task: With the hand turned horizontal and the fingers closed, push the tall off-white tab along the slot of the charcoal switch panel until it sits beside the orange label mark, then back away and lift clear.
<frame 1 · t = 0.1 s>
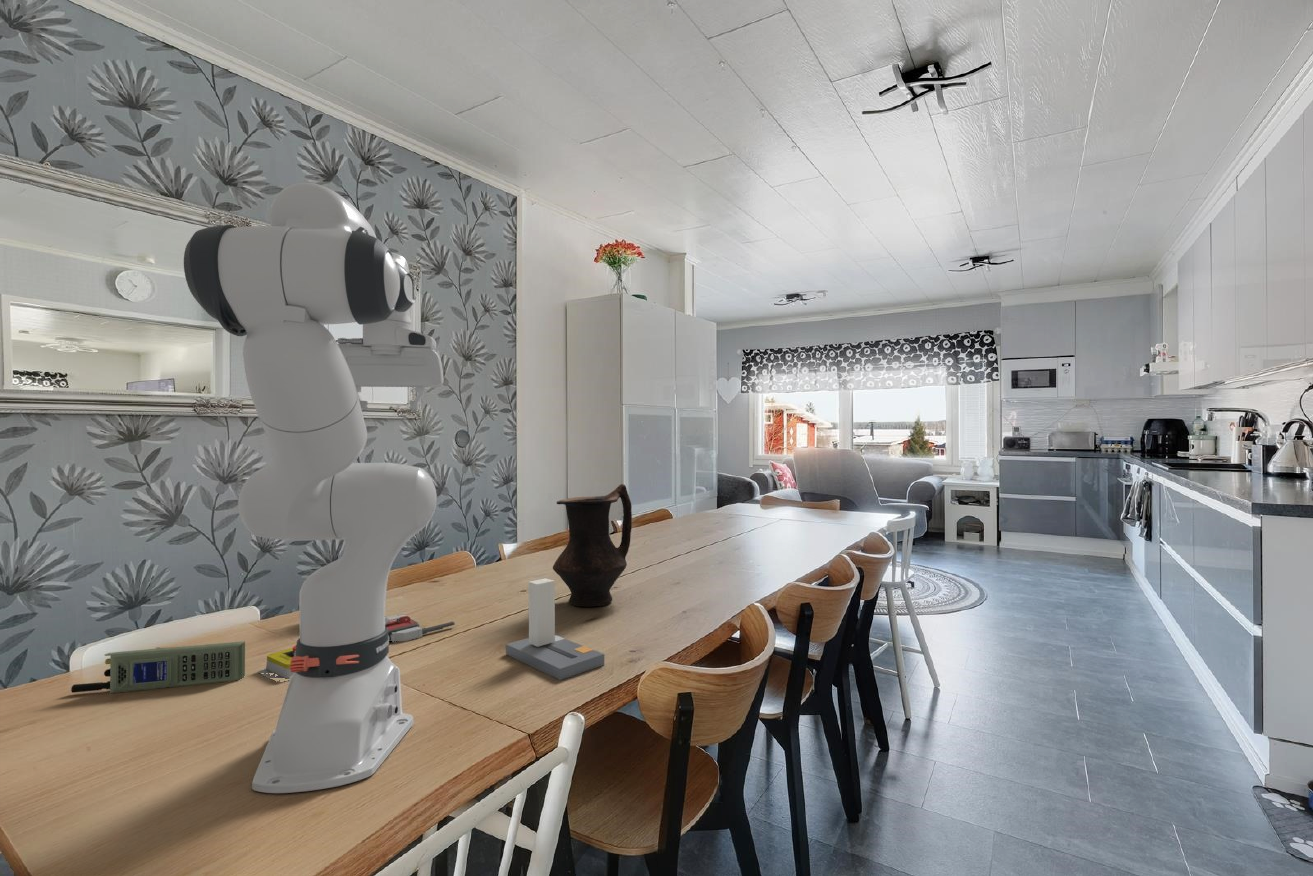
hand: (388, 410, 118), 48 cm above the table, tool pointing down, fingers open, 8 cm apart
emergency button: (310, 668, 115), on the table
switch panel: (554, 659, 116), on the table
jug: (594, 603, 156), on the table
walkie-talkie: (403, 638, 131), on the table
switch tab: (541, 611, 119), point 8 cm above the table, slide at 0.0 cm
handheld radio: (160, 688, 105), on the table
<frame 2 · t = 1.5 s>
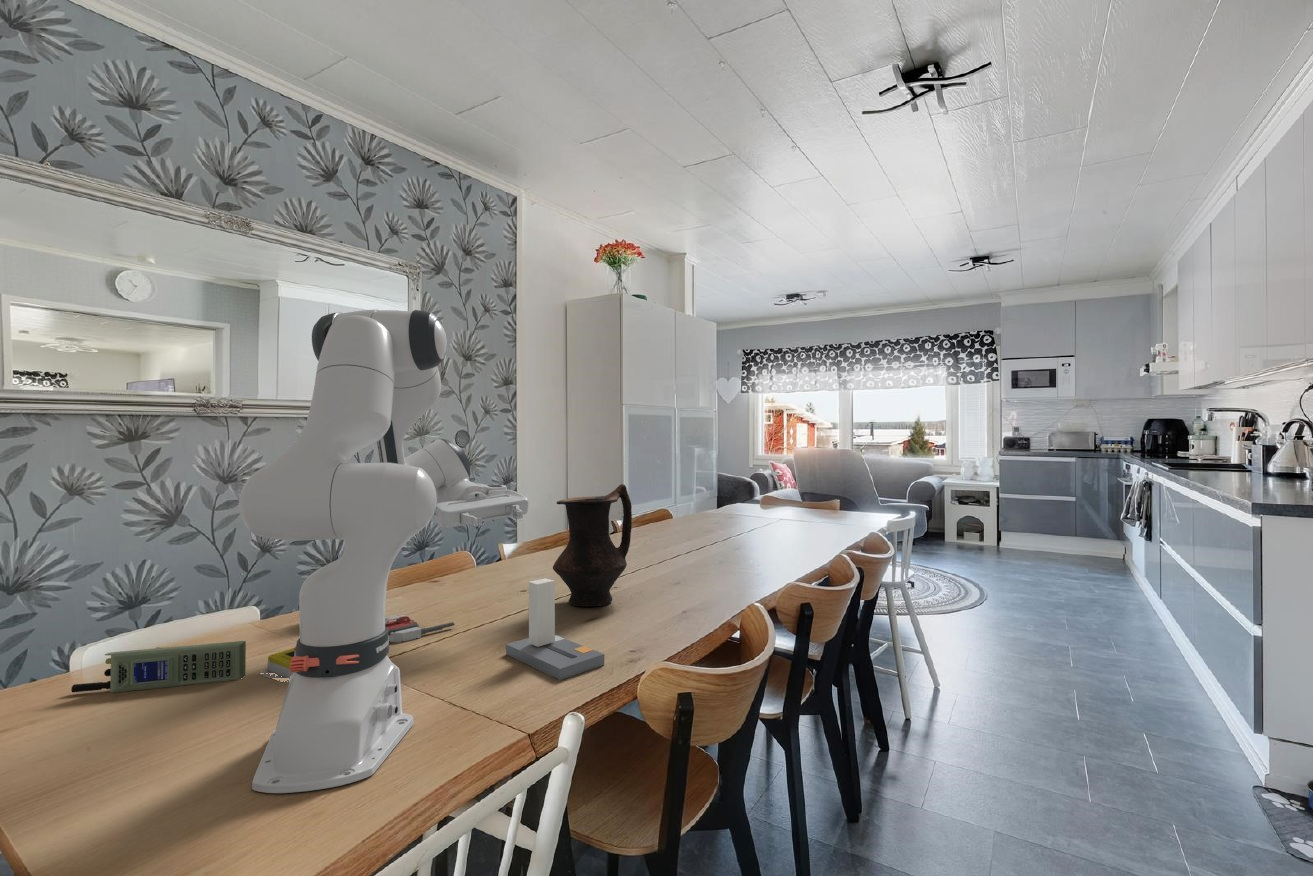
hand: (500, 518, 128), 25 cm above the table, tool horizontal, fingers open, 8 cm apart
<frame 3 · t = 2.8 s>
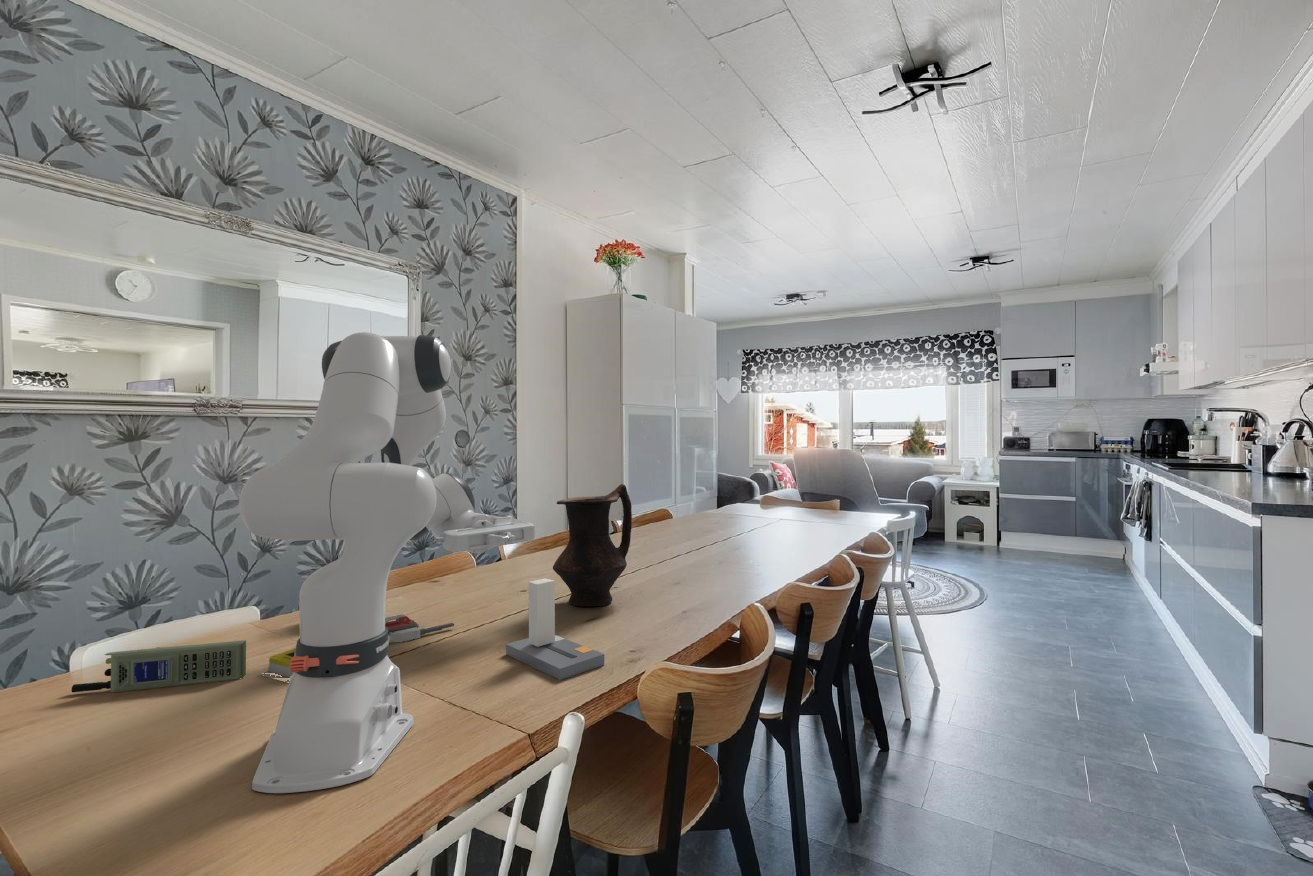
hand: (508, 540, 128), 21 cm above the table, tool horizontal, fingers closed
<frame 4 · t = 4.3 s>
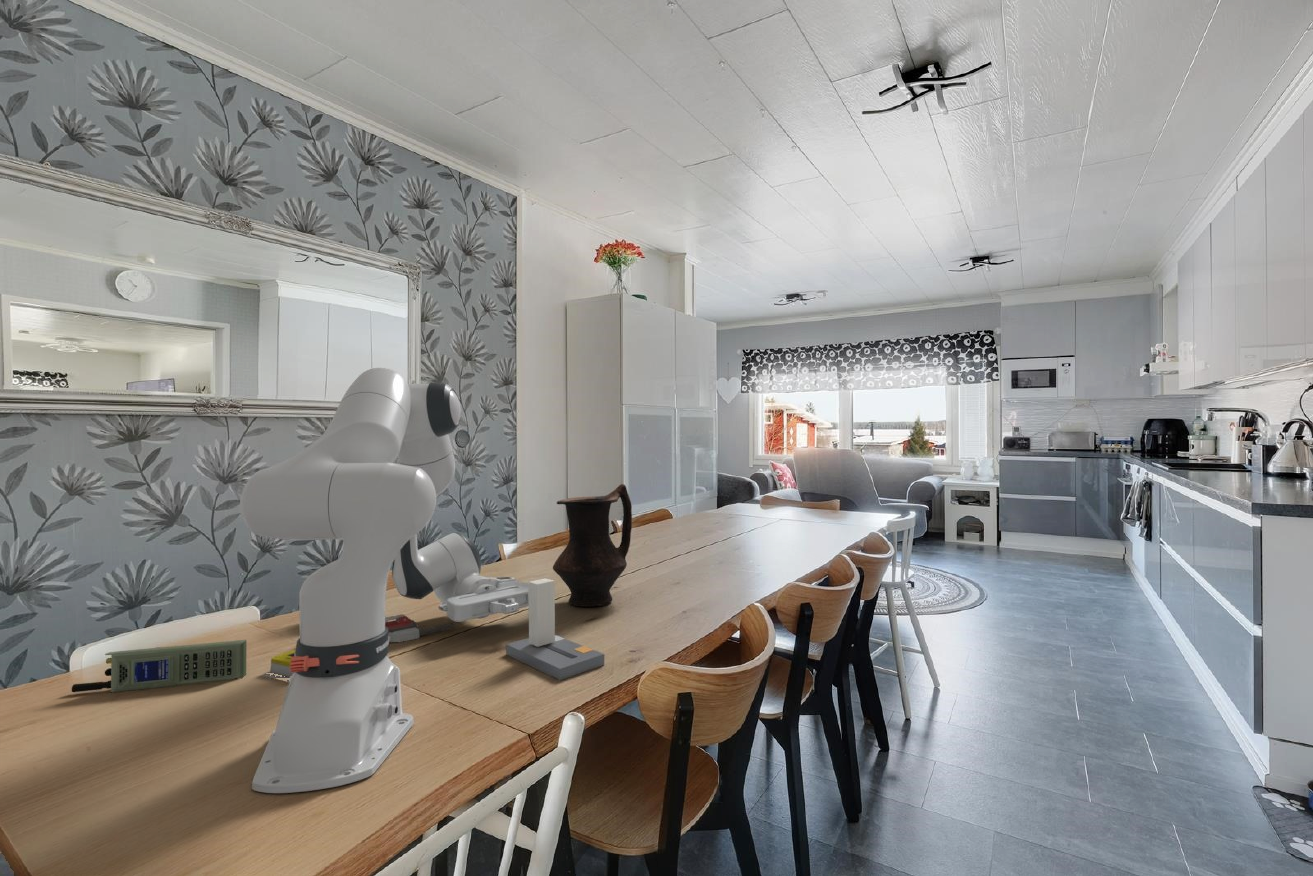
hand: (512, 609, 126), 7 cm above the table, tool horizontal, fingers closed
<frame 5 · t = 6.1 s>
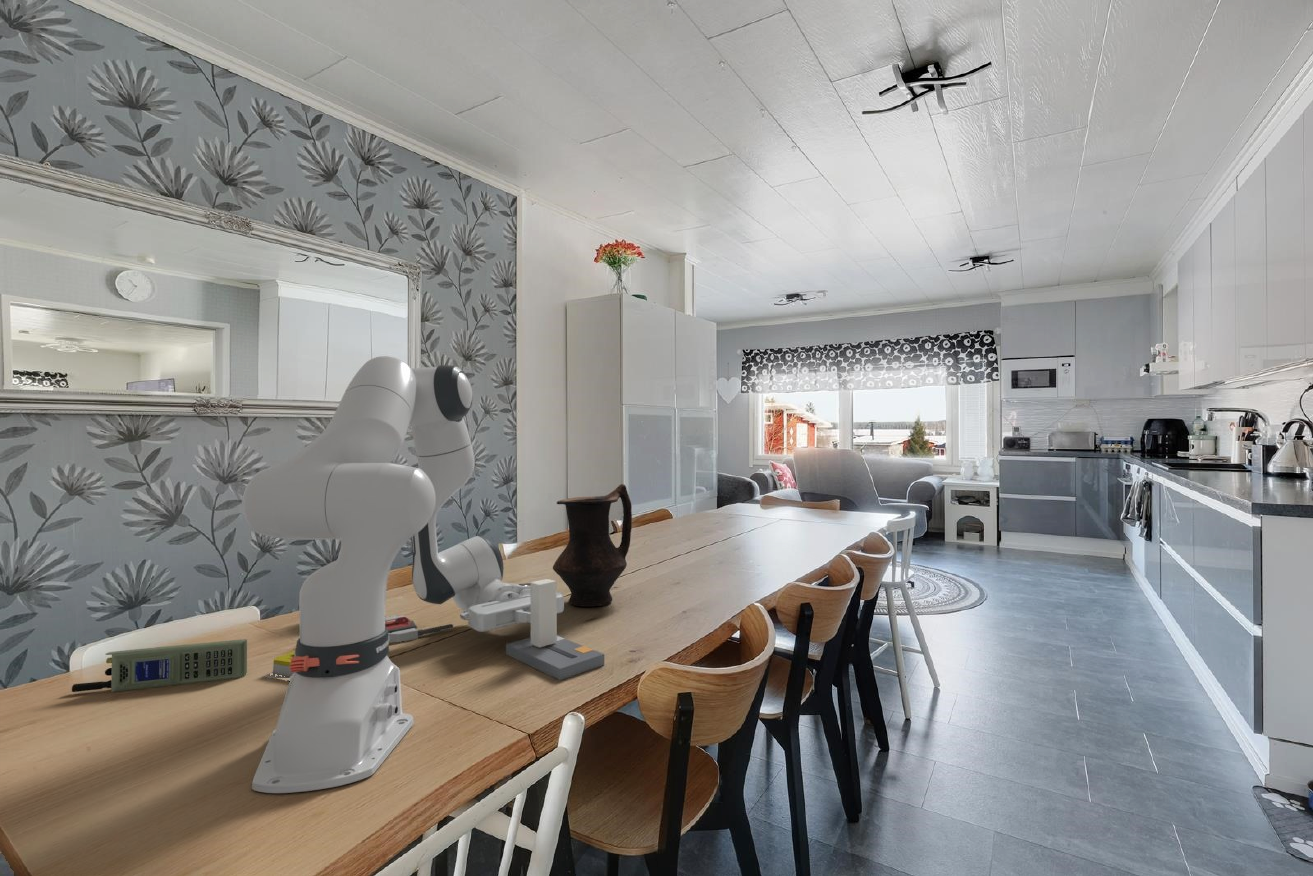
hand: (538, 618, 120), 7 cm above the table, tool horizontal, fingers closed, pressing on switch tab
switch tab: (543, 612, 119), point 8 cm above the table, slide at 0.6 cm, touching gripper
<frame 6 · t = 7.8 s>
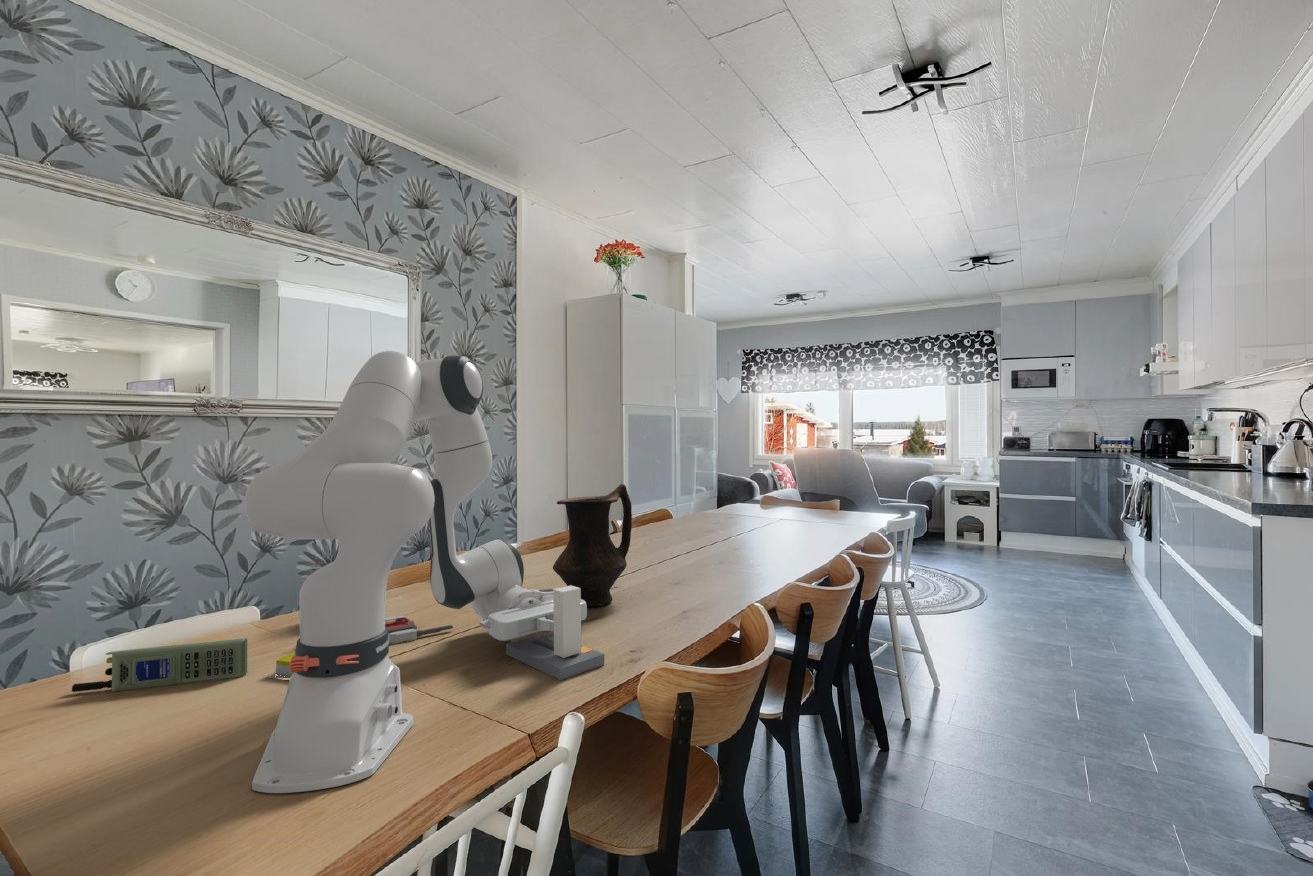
hand: (562, 626, 114), 7 cm above the table, tool horizontal, fingers closed, pressing on switch tab
switch tab: (567, 621, 113), point 8 cm above the table, slide at 8.4 cm, touching gripper
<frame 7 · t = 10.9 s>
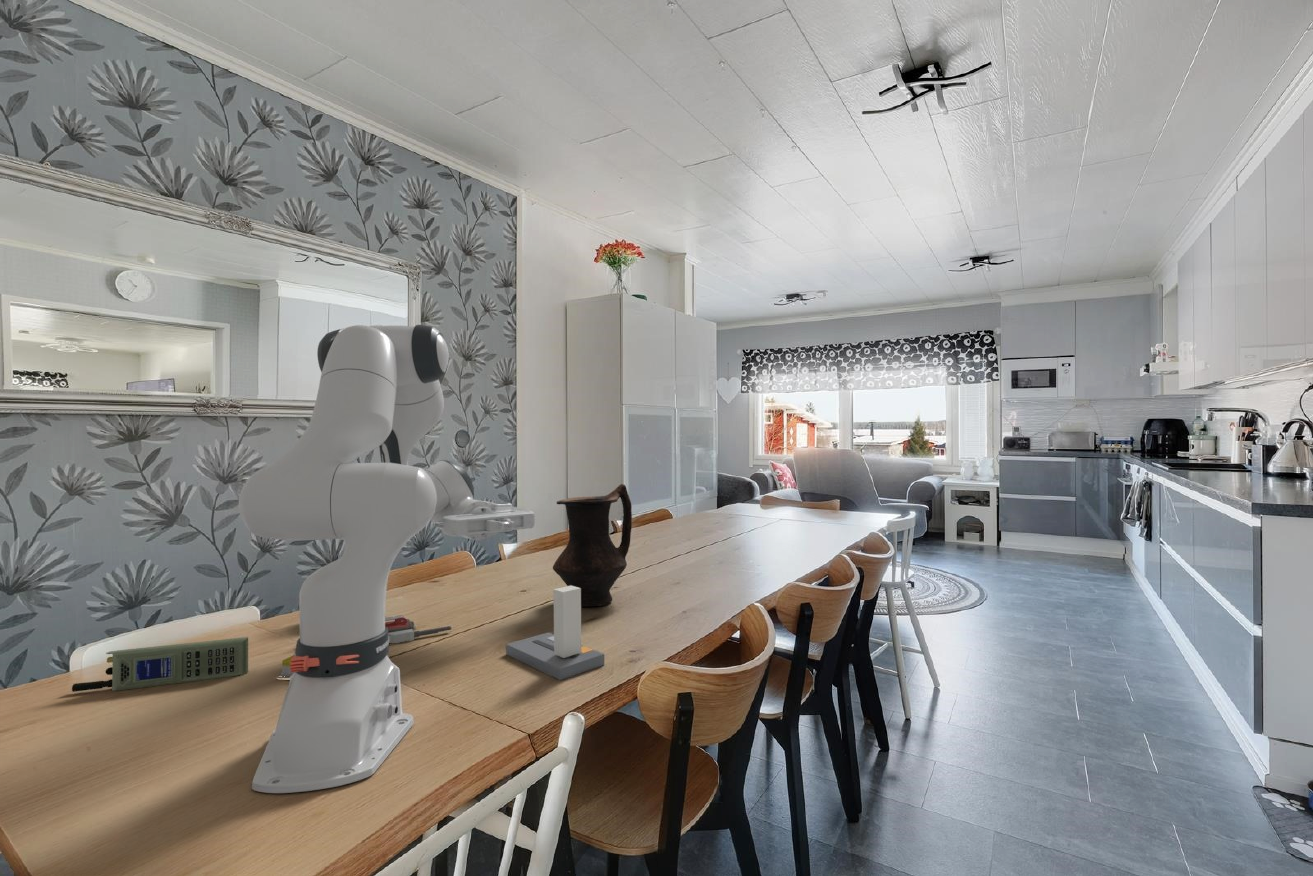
hand: (508, 526, 127), 24 cm above the table, tool horizontal, fingers closed
switch tab: (567, 621, 113), point 8 cm above the table, slide at 8.4 cm
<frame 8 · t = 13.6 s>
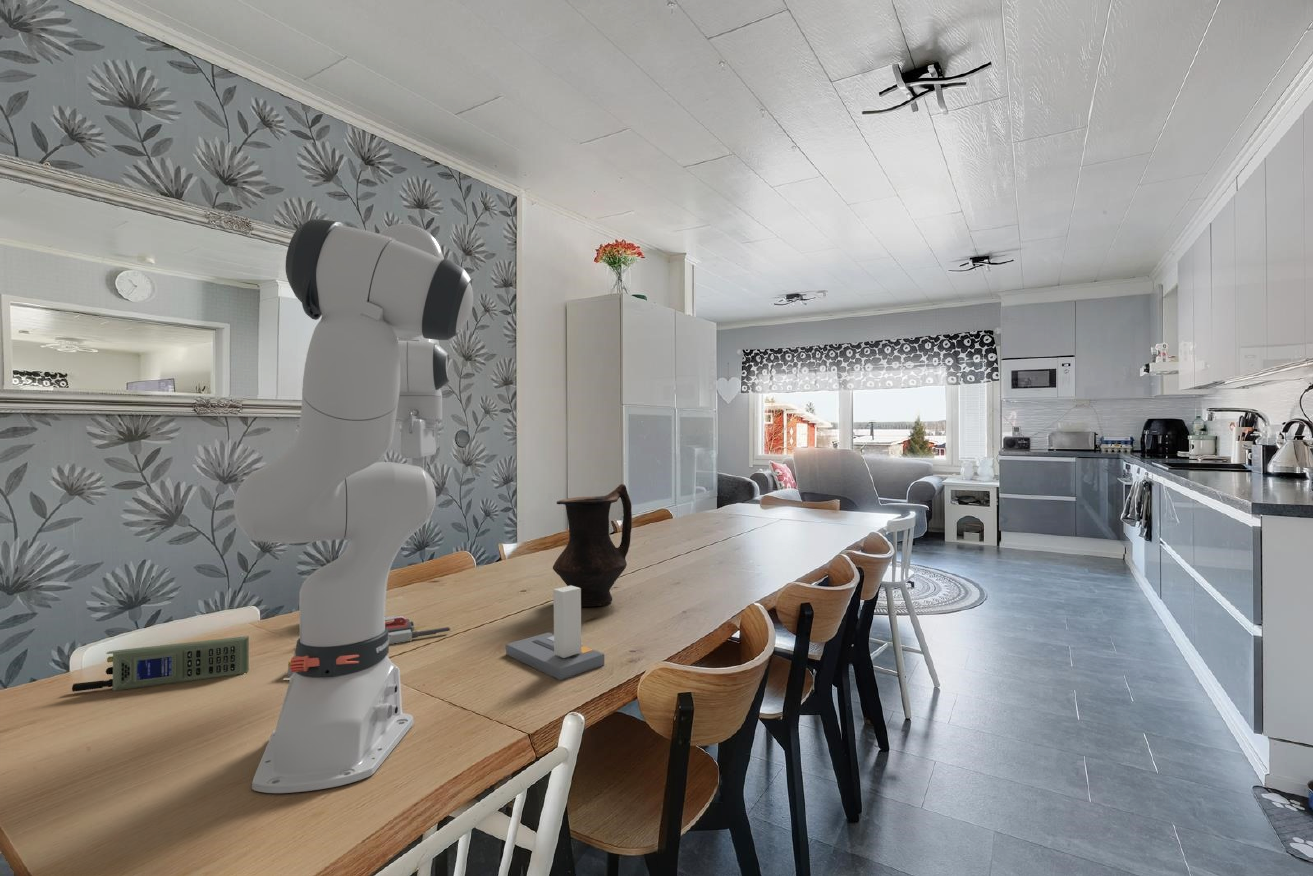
hand: (420, 479, 123), 34 cm above the table, tool pointing down, fingers closed
at the end: switch tab slide at 8.4 cm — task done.
